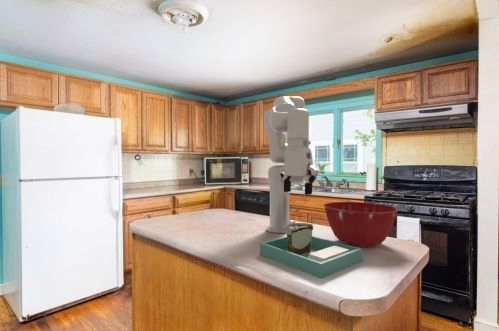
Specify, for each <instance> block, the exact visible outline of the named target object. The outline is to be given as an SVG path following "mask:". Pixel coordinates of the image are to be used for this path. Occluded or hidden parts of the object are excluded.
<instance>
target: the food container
mask: <svg viewBox="0 0 499 331" xmlns="http://www.w3.org/2000/svg"><path fill="white" fill-rule="evenodd" d="M313 230H314V224H312V223H308V222H296V223H292V224H288V225H286V228H285V233H284V234H285V235H286V237H287V245H288V251H289V252H292V253H295V254H298V255H304V254H307V253H310V252H311V242H312V236H313Z"/></svg>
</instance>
